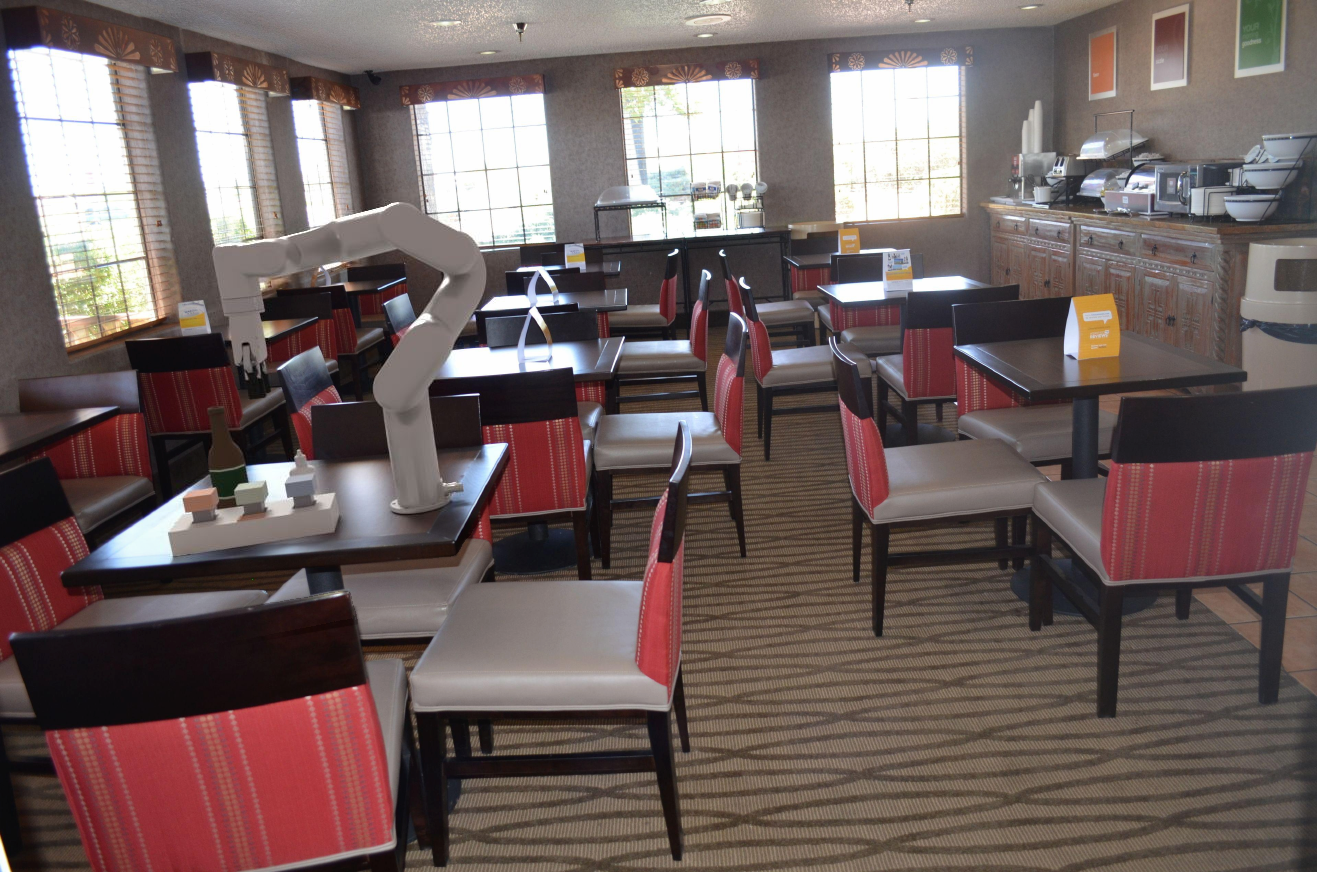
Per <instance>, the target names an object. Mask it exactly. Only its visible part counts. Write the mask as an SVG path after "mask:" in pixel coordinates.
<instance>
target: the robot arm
mask: <svg viewBox="0 0 1317 872" xmlns="http://www.w3.org/2000/svg"><path fill="white" fill-rule="evenodd" d="M395 250H399V251H401V252H404V254H407V255H409V256H410V257H413V258H415V259H417V260H418V261H421V262H423V263H424V264H426V265H429V266H430V267H433V268H434V269H436V270H438V271H440V272H442V273H444V275H443V279H442V282H441V283H440V285H439V286H438V288H437V290H436V292H435V293H434V294H433V296H432V297H431V299H430V300H429V303H427V305H426V306H425V308H424V309H423V312H421V314H420V315H419V317H418V318H416V319H415V321H413V323H412V324H411V325H410V326H409V327H408V328H407V329H406V331H405V333H404V334H403V336H402V337H401V339H399V341H398V343H397V344H396V346H395V348H394V349H393V350H392V352H391V353H390V355H389V356H388V358H387V359H386V361H385V362H384V364H383V366H381V368H380V370H379V371H378V373H377V374H376V375H375V377H374V381H373V385H372V392H373V396H374V399H375V400H376V402H377V404H379V406H381V408H382V412H383V421H384V427H385V428H384V429H385V434H386V439H387V441H386V442H387V447H388V452H389V459H390V467H391V473H392V478H393V483H394V484H393V485H394V491H395V497H396V498H395V499H394V500H393V501H391V502H390V504H389V507H390V511H392V512H393V513H396V514H401V515H403V514H407V515H408V514H410V515H411V514H419V513H426V512H430V511H434V510H437V509H440V508H443V507H445V506H447V505H448V504H449V503H451V500H452V498H451V494H452V493H453V494H454V493H455V494H456V493H462V492H463V493H464V484H463V482H459V483H457V481H454V482H451V483H446V482H443V477H441V476H440V469H439V468H440V467H439V461H438V454H437V447H436V441H435V434H434V427H433V420H432V413H431V406H430V405H431V404H430V397H429V396H430V395H429V387H430V385H431V384H432V383H433V382H434V380H435V379H436V377H437V376H438V374H439V372H440V371H441V369H442V368H443V367H444V366H445V363H446V362H447V360H448V359H449V357H450V356H451V353H452V350H453V348H454V345H455V343H456V341H457V339H458V337H459V336H460V334H461V332H462V330H463V329H464V328H465V327H466V325H467V324H468V322H469V320H470V318H471V316H472V315H473V313H474V312H475V310H476V309H477V307H478V305H479V303H480V301H481V300H482V297H483V295H484V292H485V288H486V284H487V267H486V262H485V259H484V256H483V254H482V251H481V250H480V247H479V246H478V244H477V242H476V241H475V239H473V237H471V235H469V234H468V233H466V232H463V231H461V230H458V229H456V228H455V229H454V228H453V227H451V226H448V225H447V224H445V223H443V222H441V221H439V220H437V219H435V218H433V217H431V216H430V215H428V214H426V213H424V212H422V211H421V210H420V209H419V208H417V207H416V206H415V205H414V204H412V203H409V202H403V201H400V202H399V201H398V202H397V201H396V202H392V203H390V204H388V205H387V206H383V207H379V208H375V209H371V210H367V211H363V212H359V213H355V214H350V215H347V216H343V217H340V218H335V219H334V220H331V221H330V222H328V223H326V224H325V225H322V226H319V227H317V228H313V229H310V230H306V231H301V232H299V233H294V234H290V235H286V236H281V237H274V238H266V239H262V240H257V241H253V242H248V243H247V242H233V243H231V242H230V243H224V244H219V245H218V244H217V245H215V246H214V247H213V248H212V251H211V253H212V260H213V266H214V269H215V276H216V280H217V286H218V289H219V290H218V291H219V295H220V301H221V305H222V311H223V315H224V317H228V325H229V332H230V333H229V335H230V340H231V341H230V342H231V346H232V347H231V348H232V353H233V360H234V364H235V365H236V366H238V367H240V366H243V370H244V377H245V384H246V385H245V386H246V390H247V394H248V399H249V400H250V401H251V400H259V399H265V398H266V397H267V394H269V393H272V388H271V382H270V378H269V373H268V369H267V365H266V362H265V360H266V359H267V357H268V351H267V349H268V348H267V344H266V342H267V341H266V338H265V333H264V328H263V323H262V319H261V315H260V313H265V311H266V310H265V305H264V301H263V300H264V299H263V294H262V288H261V283H260V278H266V279H276V278H282V277H284V276H289V275H292V274H297V273H301V272H303V271H307V270H311V269H315V268H318V267H322V266H327V265H331V264H335V263H348V262H352V261H357V260H360V259H363V258H367V257H371V256H376V255H379V254H383V253H386V252H390V251H395Z"/></svg>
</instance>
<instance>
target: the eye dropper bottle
mask: <svg viewBox="0 0 1317 872" xmlns="http://www.w3.org/2000/svg"><path fill="white" fill-rule="evenodd" d="M293 459H294V464H295V466H294V467H292V468H291V469H290V471H289V477H293V476H300V475H307V474H314V473H315V478H316V483H317V489H316V492H315V494H313V496H315V495H321V489H320V485H319V484H320V483H319V477H318V472H317V469H316V467H315V466H314V465H311V464H308V460H307V457H306V455H305V454H303V453H302V450H301V449H297V450H296V455H295V456H294V458H293Z"/></svg>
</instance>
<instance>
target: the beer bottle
mask: <svg viewBox="0 0 1317 872" xmlns="http://www.w3.org/2000/svg"><path fill="white" fill-rule="evenodd" d="M225 412H226V409H225V407H224V406H222V405H217V406H211V407H207V412H206V413H207V415H208V417H209V418H208V419H209V423H210V430H211V432H210V433H211V437H212V438H211V439H212V444H211V448H210V449H209V451H208V458H207V461H208V464H207V465H208V472H209V475H210V481H211V486H212V488H215V487H216V489H217V493H218V498H219V502H218V504H217V505H216V506H215V507H216V510H219V509H226V508H233V507H239V506H243V505H237V503H236V498H235V494H234V490H235V489H236V487H237V486H238V485H239V484H244V483H250V482H249V477H248V471H247V467H246V461H245V458H244V454H243V451H242V450H241V449H240V447H239V446H238V444H236V443H235V442H234V441H233V439H232V437H231V434H230V430H229V426H228V422H227V420H226V419H227V418H226V416H225V415H226V414H225Z"/></svg>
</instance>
